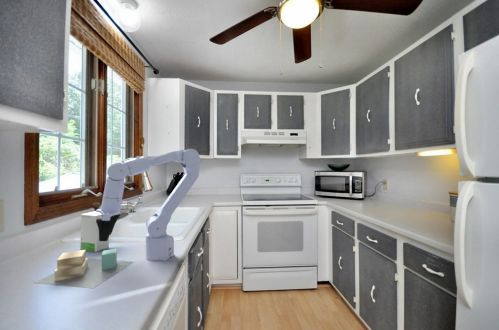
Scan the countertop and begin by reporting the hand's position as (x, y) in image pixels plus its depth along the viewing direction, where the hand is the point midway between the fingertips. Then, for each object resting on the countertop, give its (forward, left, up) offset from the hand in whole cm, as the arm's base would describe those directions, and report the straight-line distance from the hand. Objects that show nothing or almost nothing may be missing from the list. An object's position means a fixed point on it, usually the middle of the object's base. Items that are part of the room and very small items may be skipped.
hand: (105, 237), depth 75 cm
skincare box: (+17, -14, -11) cm, 25 cm away
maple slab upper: (+6, +6, -7) cm, 11 cm away
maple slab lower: (+6, +6, -10) cm, 13 cm away
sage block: (-2, 0, -10) cm, 10 cm away
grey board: (+2, +4, -11) cm, 12 cm away
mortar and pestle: (+27, -25, -11) cm, 39 cm away
